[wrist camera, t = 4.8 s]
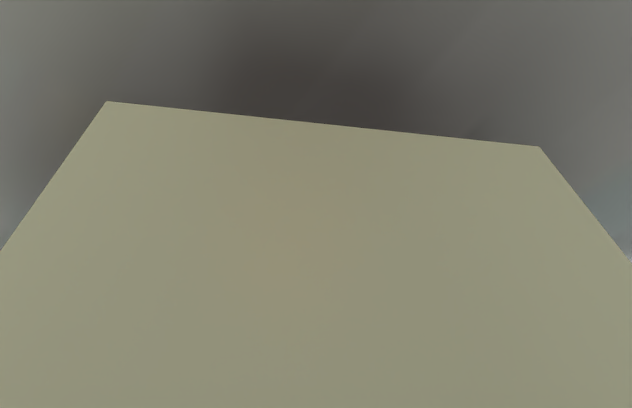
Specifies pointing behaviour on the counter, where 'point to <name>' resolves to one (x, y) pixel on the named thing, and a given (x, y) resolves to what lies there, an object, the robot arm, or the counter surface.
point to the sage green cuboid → (308, 273)
